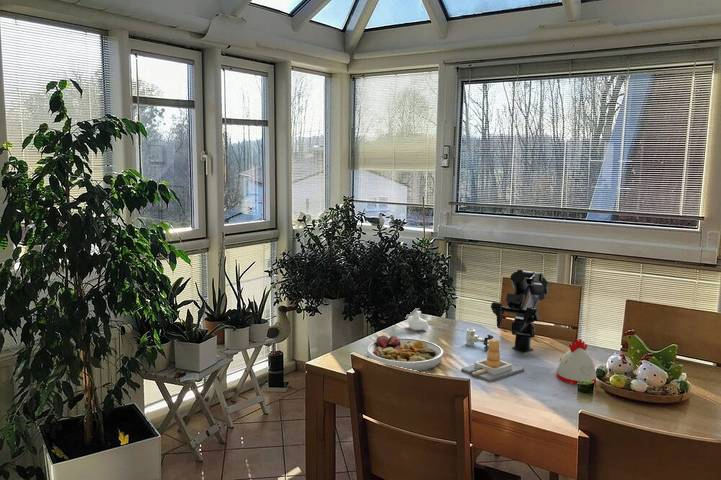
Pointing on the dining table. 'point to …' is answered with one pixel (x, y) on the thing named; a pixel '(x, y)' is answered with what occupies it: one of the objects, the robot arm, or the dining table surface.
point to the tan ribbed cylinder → (493, 354)
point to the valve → (476, 338)
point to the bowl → (405, 352)
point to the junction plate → (492, 370)
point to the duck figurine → (417, 322)
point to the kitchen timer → (576, 364)
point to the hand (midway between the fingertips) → (508, 329)
